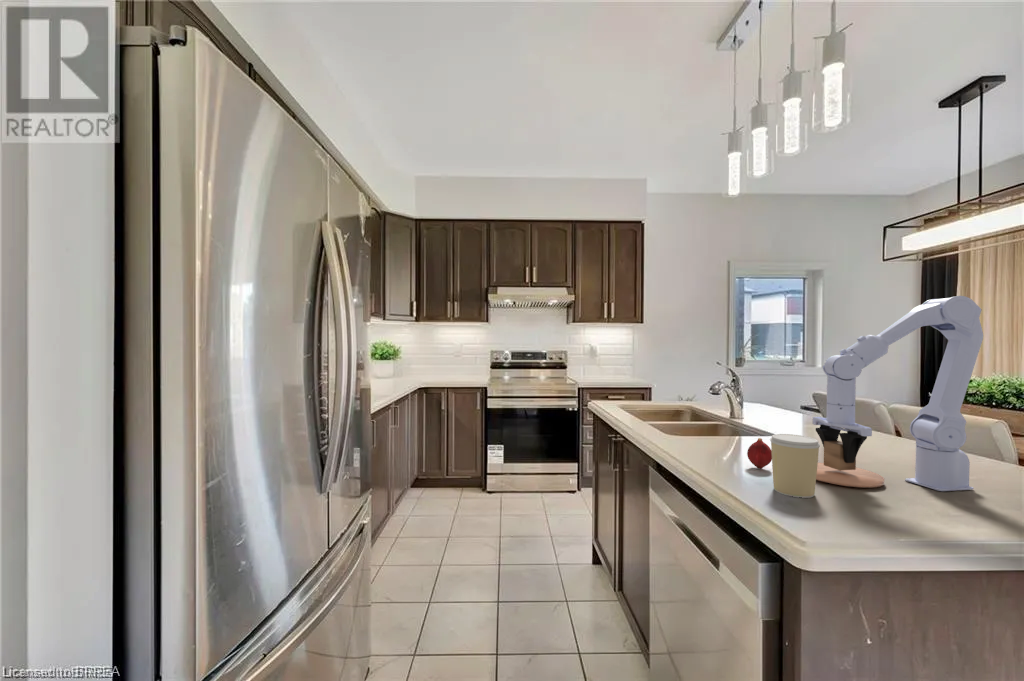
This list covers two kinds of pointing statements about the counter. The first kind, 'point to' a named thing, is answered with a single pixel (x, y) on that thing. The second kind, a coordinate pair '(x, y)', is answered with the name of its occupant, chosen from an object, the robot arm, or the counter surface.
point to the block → (836, 456)
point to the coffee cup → (794, 464)
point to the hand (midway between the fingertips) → (839, 459)
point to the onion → (759, 454)
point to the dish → (849, 477)
